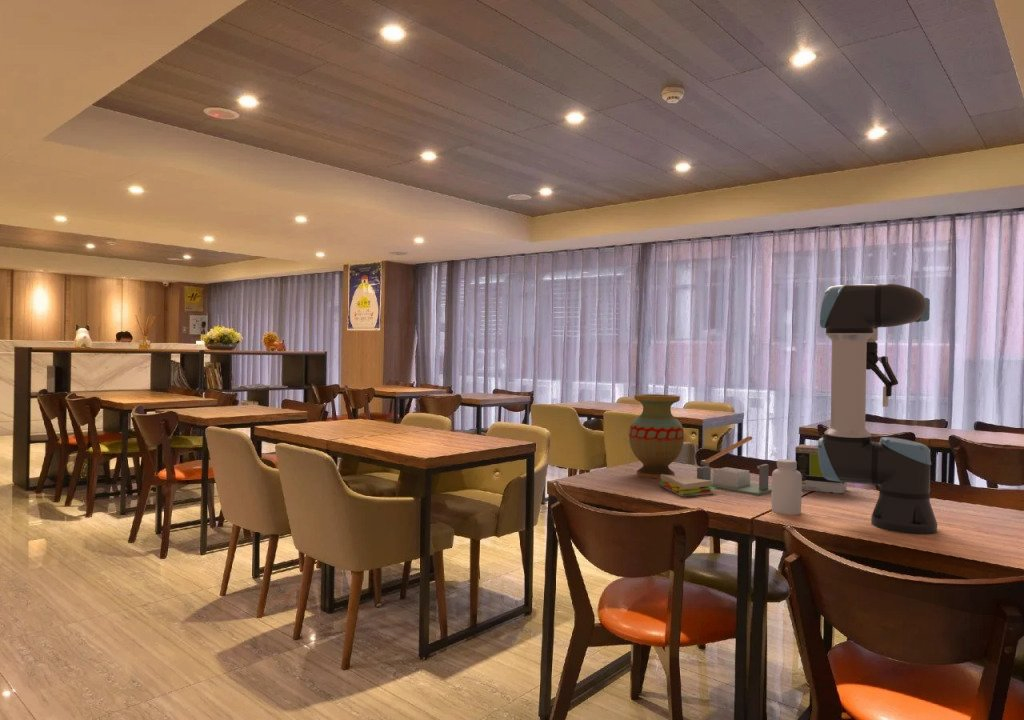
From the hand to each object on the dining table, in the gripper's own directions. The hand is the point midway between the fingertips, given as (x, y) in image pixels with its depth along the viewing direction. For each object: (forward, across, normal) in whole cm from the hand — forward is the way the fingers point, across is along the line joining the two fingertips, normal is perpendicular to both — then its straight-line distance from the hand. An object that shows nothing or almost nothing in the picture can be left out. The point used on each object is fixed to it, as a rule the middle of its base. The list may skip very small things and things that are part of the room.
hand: (863, 405), depth 229 cm
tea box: (+29, +11, +7) cm, 32 cm away
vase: (+29, +60, +33) cm, 74 cm away
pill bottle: (+29, +1, +50) cm, 58 cm away
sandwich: (+30, +36, +49) cm, 68 cm away
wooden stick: (+22, +42, +29) cm, 56 cm away
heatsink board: (+29, +42, +29) cm, 59 cm away
